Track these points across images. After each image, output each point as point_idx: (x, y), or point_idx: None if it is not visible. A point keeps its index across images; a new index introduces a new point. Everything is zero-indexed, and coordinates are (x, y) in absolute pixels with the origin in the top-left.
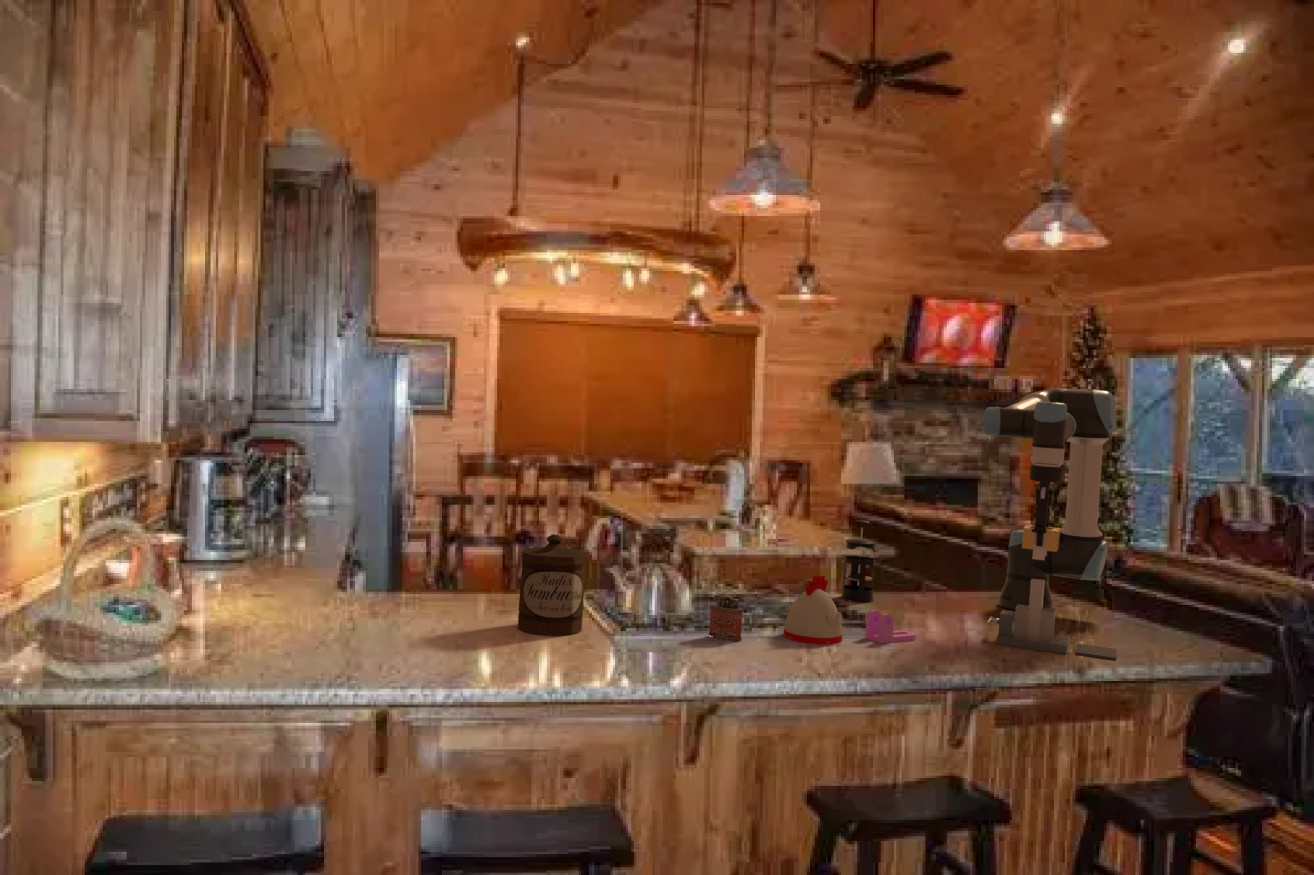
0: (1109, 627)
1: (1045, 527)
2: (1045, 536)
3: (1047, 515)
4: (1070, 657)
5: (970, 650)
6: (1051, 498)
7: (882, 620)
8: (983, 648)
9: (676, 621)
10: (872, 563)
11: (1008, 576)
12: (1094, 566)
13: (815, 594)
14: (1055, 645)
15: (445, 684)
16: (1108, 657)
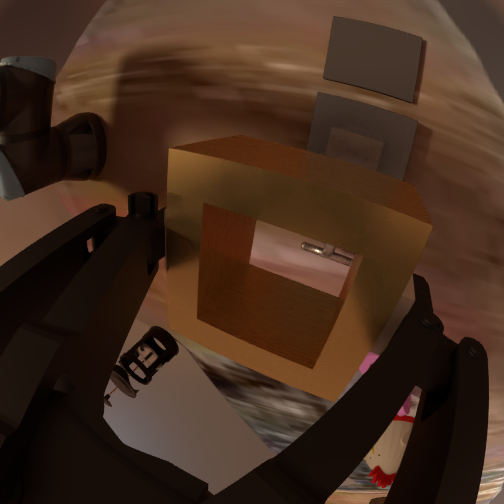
0: (139, 33)
1: (483, 361)
2: (411, 290)
3: (121, 279)
4: (440, 121)
5: (438, 295)
6: (29, 413)
7: (409, 411)
8: (420, 270)
9: (350, 475)
10: (139, 362)
11: (60, 180)
12: (44, 63)
13: (396, 471)
14: (412, 141)
15: (485, 501)
16: (420, 49)
